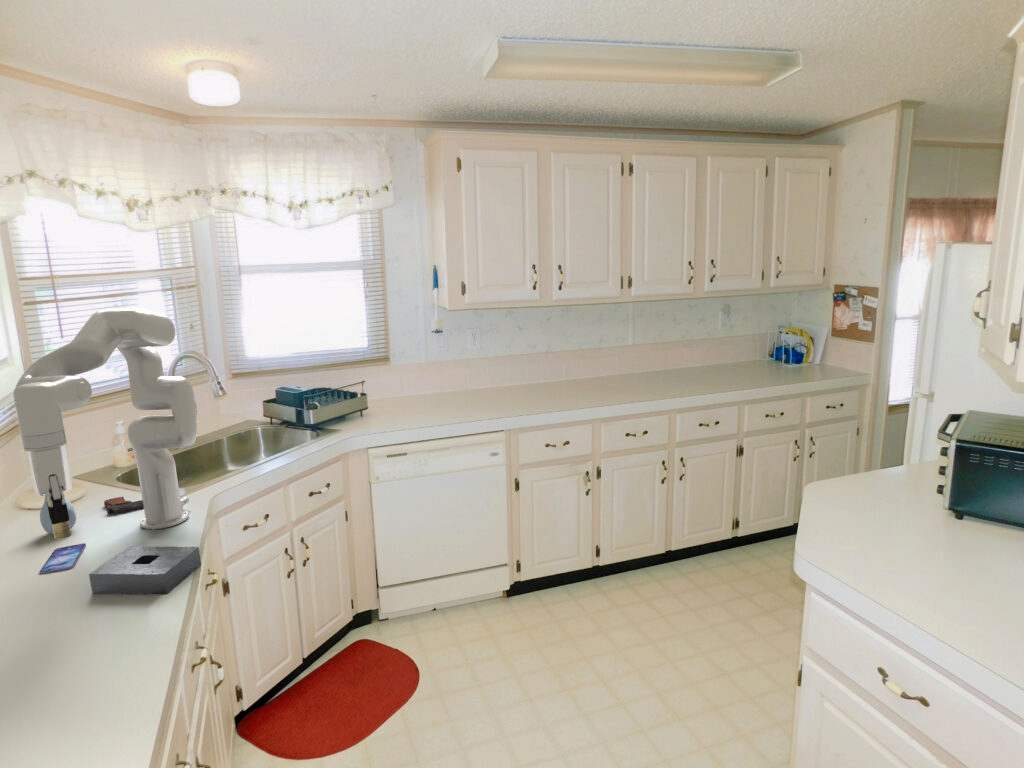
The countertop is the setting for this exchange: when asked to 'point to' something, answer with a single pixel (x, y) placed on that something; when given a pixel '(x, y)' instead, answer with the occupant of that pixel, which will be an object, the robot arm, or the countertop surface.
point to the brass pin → (60, 528)
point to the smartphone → (63, 558)
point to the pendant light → (46, 519)
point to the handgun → (121, 505)
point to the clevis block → (145, 570)
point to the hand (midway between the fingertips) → (59, 519)
